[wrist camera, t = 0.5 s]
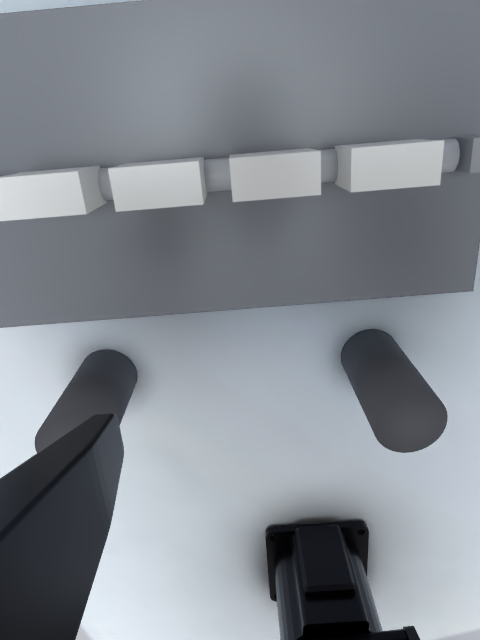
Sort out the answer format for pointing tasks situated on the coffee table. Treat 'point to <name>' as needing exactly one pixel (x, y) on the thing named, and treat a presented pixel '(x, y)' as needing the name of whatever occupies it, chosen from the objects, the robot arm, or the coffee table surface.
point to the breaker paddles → (227, 178)
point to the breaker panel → (237, 151)
